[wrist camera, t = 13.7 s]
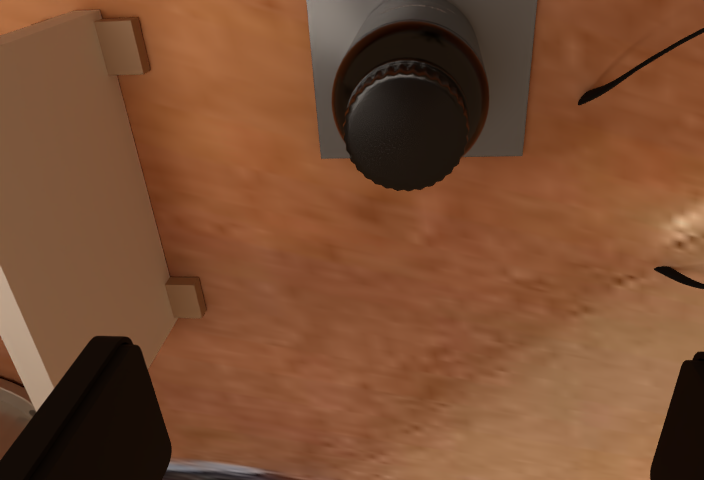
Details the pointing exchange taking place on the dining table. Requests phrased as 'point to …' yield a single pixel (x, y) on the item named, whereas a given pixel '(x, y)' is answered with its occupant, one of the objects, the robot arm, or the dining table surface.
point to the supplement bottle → (411, 93)
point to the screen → (77, 202)
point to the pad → (496, 49)
